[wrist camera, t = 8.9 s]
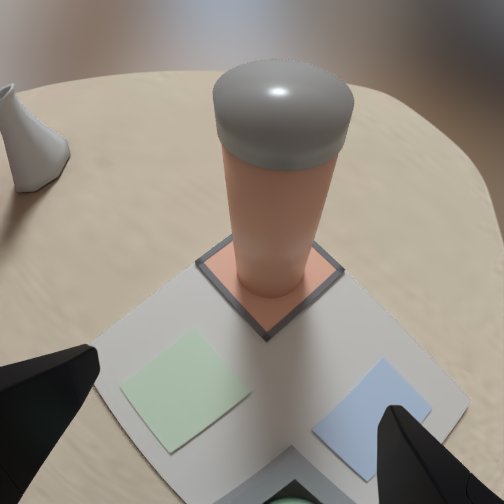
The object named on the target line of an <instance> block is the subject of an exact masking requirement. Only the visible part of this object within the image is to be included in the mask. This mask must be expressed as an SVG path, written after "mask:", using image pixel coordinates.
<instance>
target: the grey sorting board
mask: <svg viewBox="0 0 504 504" xmlns="http://www.w3.org/2000/svg"><path fill="white" fill-rule="evenodd" d="M89 345H90V346H93V347H95V348H96V349H97V351H98V357H99V363H100V373H99V376H98V377H97V379H96V381H95V383H94V385H95V387H96V388H97V390H98V391H99V393H100V394H101V396H102V398H103V399H104V401H105V402H106V404H107V405H108V407H109V408H110V410H111V411H112V413H113V414H114V416H115V417H116V419H117V420H118V421H119V423H120V424H121V426H122V427H123V428H124V430H125V431H126V433H127V434H128V435H129V437H130V438H131V439H132V441H133V442H134V443H135V445H136V446H137V447H138V448H139V450H140V451H141V452H142V454H143V455H144V456H145V457H146V459H147V460H148V461H149V462H150V463H151V465H152V466H153V467H154V468H155V469H156V471H157V472H158V473H159V474H160V475H161V476H162V478H163V479H164V480H165V481H166V482H167V483H168V484H169V485H170V487H171V488H172V489H173V490H174V491H175V492H176V493H177V494H178V495H179V496H180V497H181V498H182V499H183V500H184V501H185V502H186V503H187V504H262V503H264V502H266V501H268V500H271V499H273V498H277V497H282V496H299V497H304V498H307V499H310V500H312V501H314V502H315V503H317V504H379V497H378V484H377V428H378V424H379V422H380V420H381V418H382V416H383V414H384V412H385V410H386V408H387V406H389V405H401V406H403V407H404V408H405V409H406V410H407V411H408V412H409V413H410V414H411V415H412V416H413V417H414V418H415V419H416V420H417V421H418V422H419V423H420V424H421V425H422V426H424V427H425V428H426V429H427V430H428V431H429V432H430V433H431V434H432V435H433V436H434V437H435V438H436V439H437V440H438V441H439V442H440V443H441V444H442V442H443V441H444V440H445V438H446V437H447V436H448V434H449V433H450V432H451V430H452V429H453V428H454V426H455V425H456V423H457V422H458V420H459V419H460V418H461V416H462V415H463V413H464V412H465V410H466V409H467V407H468V406H469V404H470V402H471V401H472V400H471V399H470V398H469V397H468V396H467V394H466V393H465V392H464V391H463V390H462V389H461V388H460V387H459V386H458V385H457V383H456V382H455V381H454V380H453V379H452V378H451V377H450V376H449V375H448V374H447V373H446V371H445V370H444V369H443V368H442V367H441V366H440V365H439V364H438V363H437V362H436V361H435V360H434V359H433V358H432V357H431V355H430V354H429V353H428V352H427V351H426V350H425V349H424V348H423V347H422V346H421V345H420V344H419V343H418V342H417V341H416V340H415V339H414V338H413V337H412V336H411V335H410V334H409V333H408V332H407V331H406V330H405V329H404V328H403V326H402V325H401V324H400V323H399V322H398V321H397V320H396V319H395V318H394V317H393V316H392V315H391V314H390V313H389V312H388V311H387V310H386V309H385V308H384V307H383V306H382V305H381V304H380V303H379V302H378V301H377V300H376V299H375V298H373V297H372V296H371V295H370V294H369V293H368V292H367V291H366V290H365V289H364V288H363V287H362V286H361V285H360V284H359V283H358V282H357V281H356V280H355V279H354V278H353V277H352V276H351V275H350V274H349V273H348V272H347V271H346V270H345V269H344V268H343V267H342V266H341V265H340V264H339V263H338V262H337V261H336V260H335V259H333V258H332V257H331V256H330V255H329V254H328V253H327V252H326V251H325V250H324V249H323V248H322V247H321V246H320V245H318V244H317V243H316V242H315V241H313V244H312V247H311V251H310V254H309V257H308V260H307V263H306V266H305V270H304V273H303V276H302V279H301V281H300V283H299V284H298V286H297V287H296V288H295V289H294V290H293V291H291V292H290V293H288V294H286V295H284V296H281V297H276V298H265V297H260V296H257V295H255V294H253V293H251V292H250V291H248V290H247V289H246V288H245V287H244V286H243V284H242V283H241V282H240V280H239V277H238V274H237V269H236V261H235V253H234V245H233V237H232V234H231V235H229V236H228V237H227V238H225V239H224V240H223V241H221V242H220V243H219V244H217V245H216V246H215V247H213V248H212V249H211V250H209V251H208V252H207V253H205V254H204V255H203V256H201V257H200V258H199V259H197V260H196V261H195V262H194V263H193V264H191V265H190V266H189V267H187V268H186V269H185V270H183V271H182V272H181V273H179V274H178V275H177V276H175V277H174V278H173V279H172V280H170V281H169V282H168V283H166V284H165V285H164V286H162V287H161V288H160V289H159V290H157V291H156V292H155V293H153V294H152V295H151V296H149V297H148V298H147V299H146V300H144V301H143V302H142V303H140V304H139V305H138V306H137V307H135V308H134V309H133V310H131V311H130V312H129V313H128V314H126V315H125V316H124V317H123V318H121V319H120V320H119V321H117V322H116V323H115V324H114V325H112V326H111V327H110V328H109V329H107V330H106V331H105V332H104V333H102V334H101V335H100V336H99V337H97V338H96V339H95V340H94V341H92V342H91V343H90V344H89Z"/></svg>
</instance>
